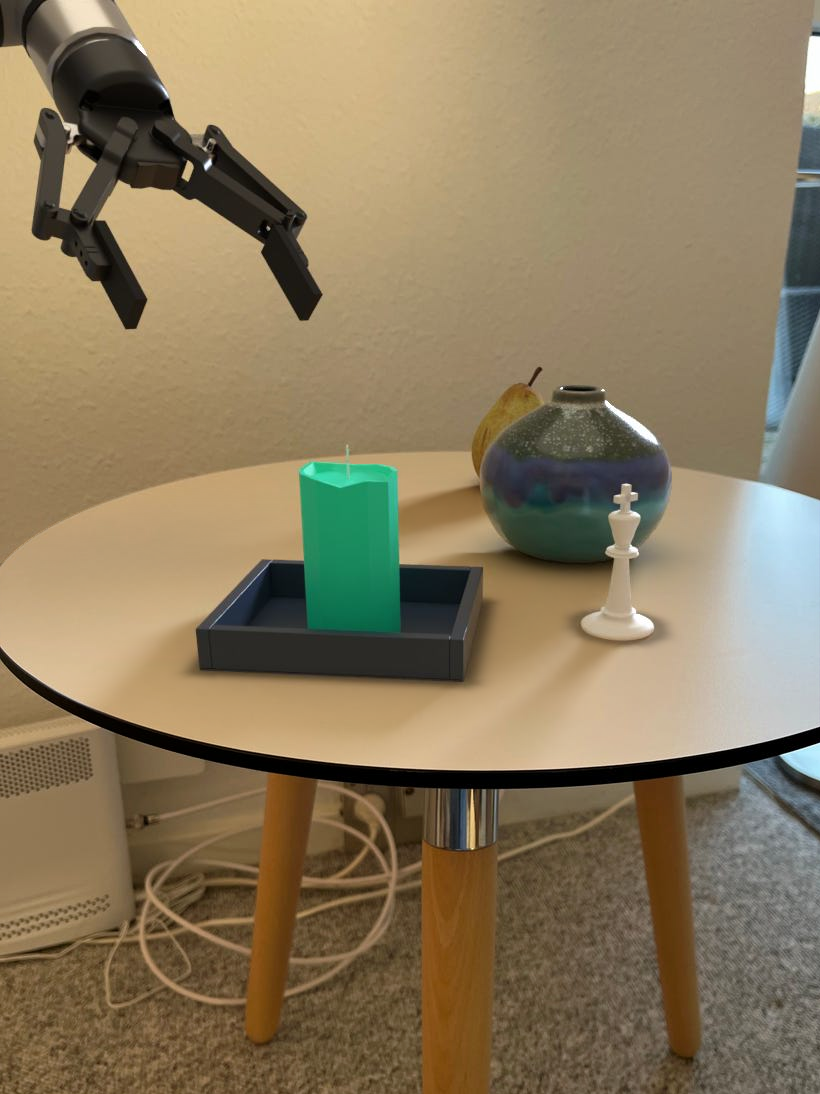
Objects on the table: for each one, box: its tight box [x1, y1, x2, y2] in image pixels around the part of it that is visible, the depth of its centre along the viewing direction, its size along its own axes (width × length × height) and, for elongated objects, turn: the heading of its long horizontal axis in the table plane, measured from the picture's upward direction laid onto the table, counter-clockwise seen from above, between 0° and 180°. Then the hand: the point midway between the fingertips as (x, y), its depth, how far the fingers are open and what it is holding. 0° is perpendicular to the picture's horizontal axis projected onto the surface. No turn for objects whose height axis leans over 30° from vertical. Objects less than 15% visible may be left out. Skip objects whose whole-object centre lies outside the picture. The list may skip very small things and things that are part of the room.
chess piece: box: [580, 484, 655, 642], centre depth 65 cm, size 5×5×10 cm
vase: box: [478, 384, 673, 564], centre depth 81 cm, size 15×15×13 cm
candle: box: [298, 444, 401, 633], centre depth 63 cm, size 6×6×12 cm
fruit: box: [471, 366, 546, 480], centre depth 103 cm, size 9×9×12 cm
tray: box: [195, 558, 484, 683], centre depth 65 cm, size 16×14×3 cm
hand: (229, 311), depth 69 cm, fingers open, 13 cm apart
